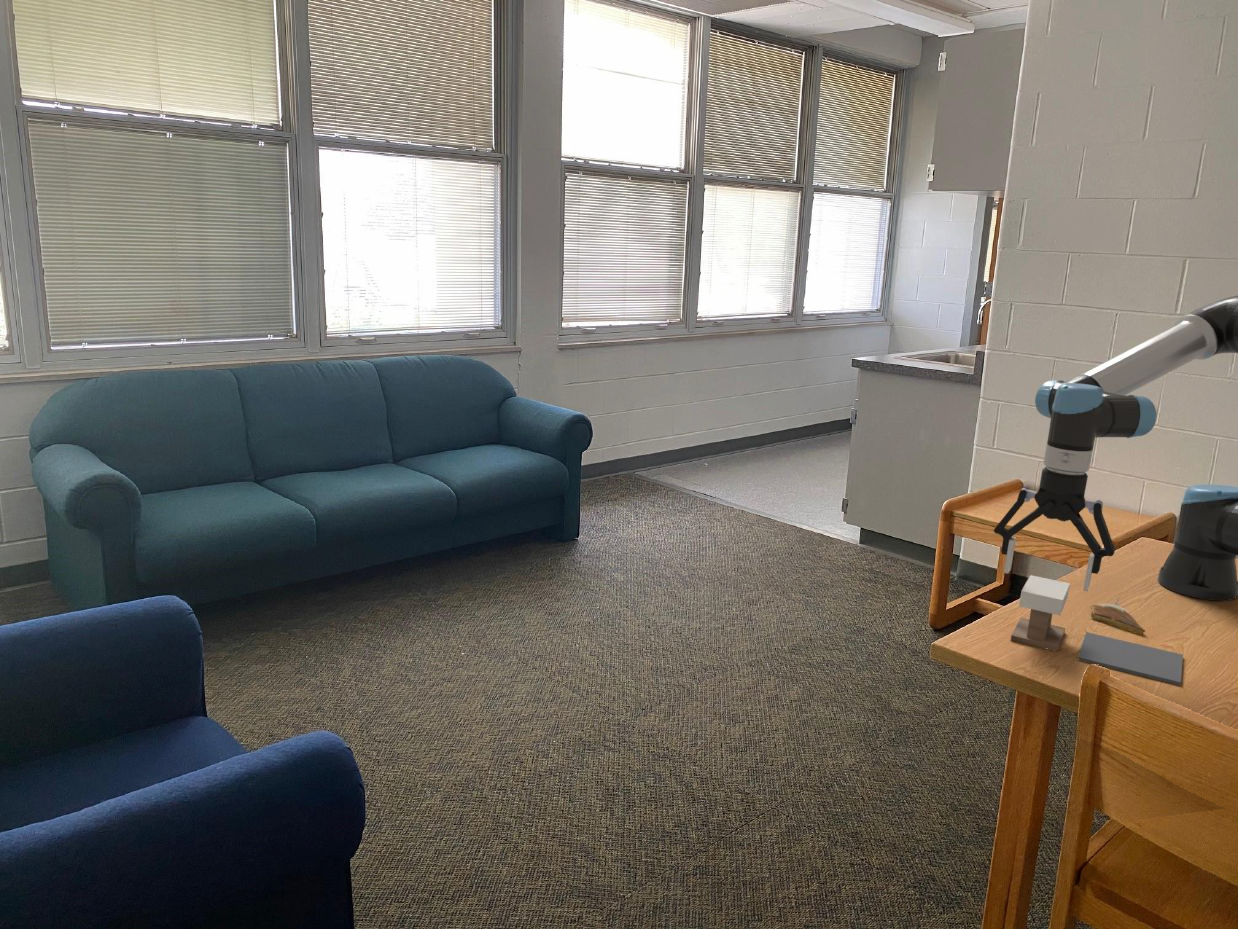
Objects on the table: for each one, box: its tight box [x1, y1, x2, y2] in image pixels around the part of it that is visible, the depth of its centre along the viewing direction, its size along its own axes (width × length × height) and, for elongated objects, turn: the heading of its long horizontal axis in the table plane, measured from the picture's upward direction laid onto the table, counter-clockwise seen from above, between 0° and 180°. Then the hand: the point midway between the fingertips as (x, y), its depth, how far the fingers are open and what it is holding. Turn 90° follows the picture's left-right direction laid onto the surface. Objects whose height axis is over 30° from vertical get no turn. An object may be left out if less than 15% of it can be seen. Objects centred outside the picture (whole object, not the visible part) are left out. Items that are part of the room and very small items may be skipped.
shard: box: [1089, 604, 1146, 636], centre depth 183 cm, size 11×8×2 cm
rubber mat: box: [1077, 631, 1184, 686], centre depth 168 cm, size 16×13×1 cm
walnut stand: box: [1010, 609, 1066, 652], centre depth 175 cm, size 10×8×7 cm
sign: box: [1098, 596, 1128, 613], centre depth 193 cm, size 5×1×15 cm
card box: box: [1018, 575, 1071, 616], centre depth 173 cm, size 10×7×3 cm
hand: (1045, 580), depth 173 cm, fingers open, 13 cm apart
